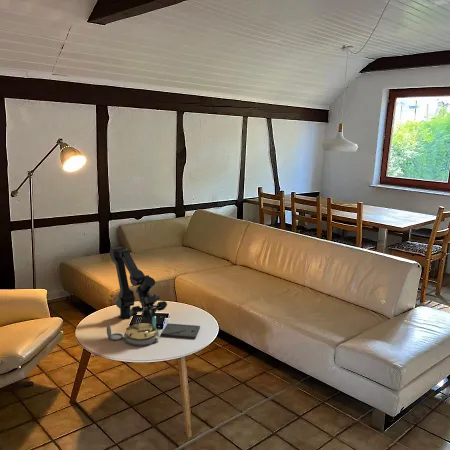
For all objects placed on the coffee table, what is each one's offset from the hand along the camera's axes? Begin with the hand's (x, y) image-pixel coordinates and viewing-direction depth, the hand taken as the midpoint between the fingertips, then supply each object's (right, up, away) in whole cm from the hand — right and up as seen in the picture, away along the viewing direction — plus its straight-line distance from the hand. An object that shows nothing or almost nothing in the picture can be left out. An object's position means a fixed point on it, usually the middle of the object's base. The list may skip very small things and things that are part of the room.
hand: (153, 323), depth 225 cm
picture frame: (+13, -7, +9) cm, 17 cm away
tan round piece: (-6, -5, 0) cm, 8 cm away
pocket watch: (-20, -8, +1) cm, 21 cm away
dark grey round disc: (-6, -8, +1) cm, 10 cm away
